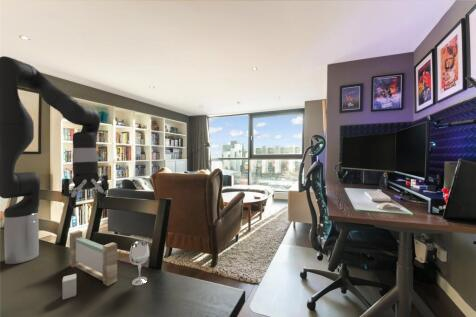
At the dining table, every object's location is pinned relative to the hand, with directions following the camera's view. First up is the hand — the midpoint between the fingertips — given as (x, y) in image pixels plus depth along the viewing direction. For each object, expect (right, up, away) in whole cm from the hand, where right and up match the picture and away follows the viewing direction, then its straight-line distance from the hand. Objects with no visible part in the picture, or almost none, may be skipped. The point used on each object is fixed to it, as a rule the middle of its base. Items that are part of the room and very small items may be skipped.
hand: (87, 205), depth 78 cm
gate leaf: (+5, -20, -5) cm, 21 cm away
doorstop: (+7, -22, -16) cm, 28 cm away
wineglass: (+24, -22, -10) cm, 34 cm away
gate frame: (+5, -22, -5) cm, 23 cm away
